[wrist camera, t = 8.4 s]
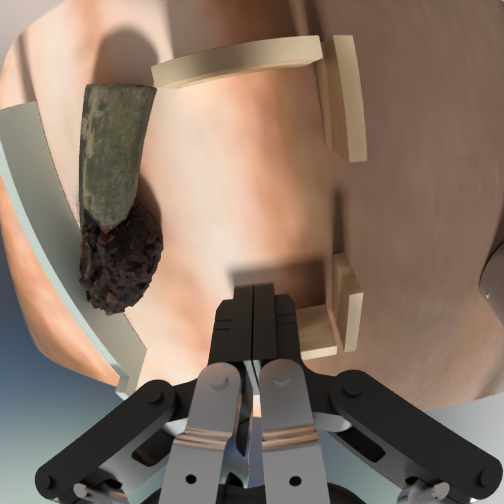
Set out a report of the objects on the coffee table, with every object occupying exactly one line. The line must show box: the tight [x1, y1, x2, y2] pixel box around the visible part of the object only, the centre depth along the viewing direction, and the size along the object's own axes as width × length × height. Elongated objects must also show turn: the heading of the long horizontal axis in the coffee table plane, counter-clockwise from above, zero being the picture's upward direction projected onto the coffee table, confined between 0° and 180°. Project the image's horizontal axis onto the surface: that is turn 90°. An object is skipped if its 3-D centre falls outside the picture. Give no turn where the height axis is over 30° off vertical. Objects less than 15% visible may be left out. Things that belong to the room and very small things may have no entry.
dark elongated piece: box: [79, 84, 163, 316], centre depth 17 cm, size 18×7×6 cm, turn 165°
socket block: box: [151, 35, 367, 360], centre depth 18 cm, size 10×22×5 cm, turn 10°
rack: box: [0, 101, 147, 400], centre depth 19 cm, size 1×28×7 cm, turn 11°
